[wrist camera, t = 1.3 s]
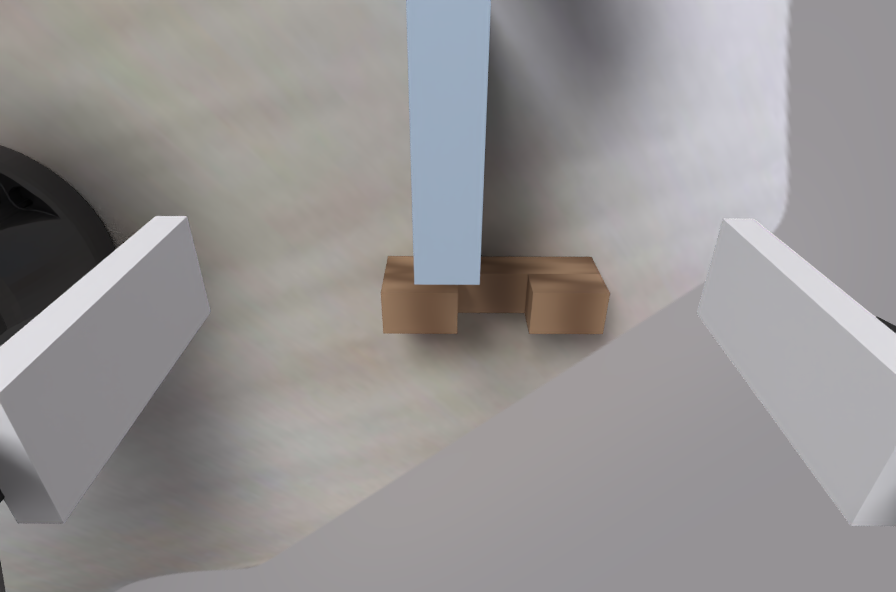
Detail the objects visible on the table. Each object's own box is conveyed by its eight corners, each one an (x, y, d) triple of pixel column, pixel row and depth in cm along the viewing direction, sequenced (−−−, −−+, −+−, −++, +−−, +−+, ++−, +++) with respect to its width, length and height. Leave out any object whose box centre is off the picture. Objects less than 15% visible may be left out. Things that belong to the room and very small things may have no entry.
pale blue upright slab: (423, 193, 36) (414, 284, 25) (419, -20, 30) (405, -15, 19) (469, 194, 36) (479, 284, 25) (475, -20, 30) (491, -15, 19)
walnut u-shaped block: (390, 293, 40) (383, 333, 35) (388, 256, 38) (380, 292, 34) (585, 294, 40) (602, 334, 35) (591, 256, 38) (609, 293, 34)
